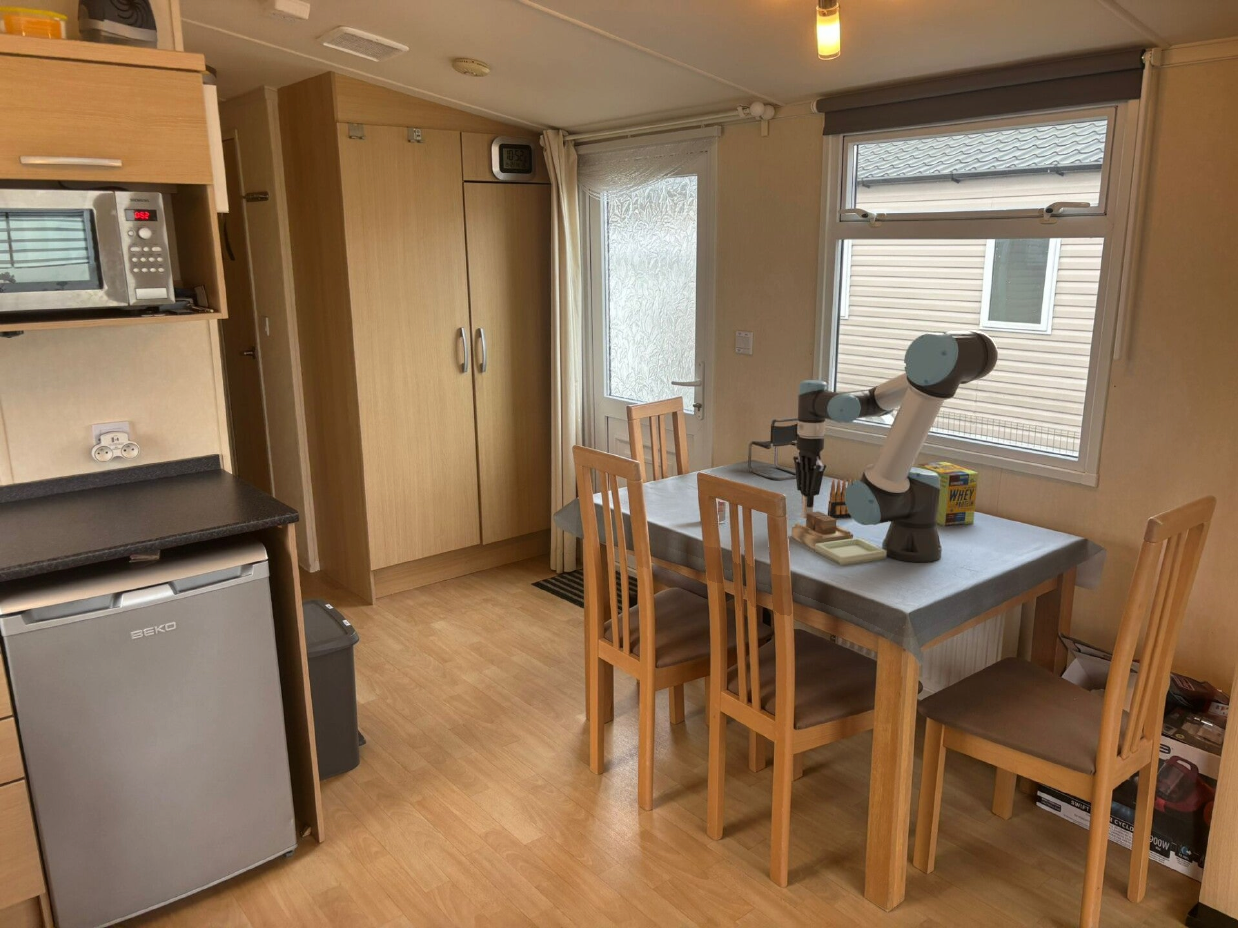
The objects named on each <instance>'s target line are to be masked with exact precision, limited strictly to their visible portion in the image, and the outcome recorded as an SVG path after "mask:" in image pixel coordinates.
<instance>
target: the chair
mask: <svg viewBox="0 0 1238 928" xmlns="http://www.w3.org/2000/svg"><path fill="white" fill-rule="evenodd" d="M796 421H797V423H795V424H792V425H786V426H783V425H782V426H780V425H775V424H776V423H784V422H787V423H788V422H796ZM797 426H798V416H796V417H787V418H773V420H772V421H771V425H770V440H767V441H766V440H765V441H750V443H749V444H748V452H747V454H748V455H747V457H748V459H747V467H748V470H749V472H751V473H753V474H755V475H758V476H761V477H763V478H766V479H769V480H772V481H785V480H786V481H787V480H792V479H793V480H794V479H795V480H796V470H795V471H794V470H791V469H789V468H786V467H783V466H780V465H779V463H778V456H779V455H778V454H779V447H784V446H790V445H791V446H793V447H796V445H797V437H798V436H799V435H798V434H797ZM795 441H796V442H795ZM753 446H756V447H760V448H763V449H766V450H771V449H772V448H773V447H774V465H775V468H777V470H778V469H779V470H781V471H784V472H785V473H788V474H792V475H789V476H780V477H779V476H777V477H776V476H771V475H769V474H766V473H763V472H761V471H758V470H755V469H753V468H752V449H753V448H752V447H753ZM794 474H795V475H794Z"/></svg>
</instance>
